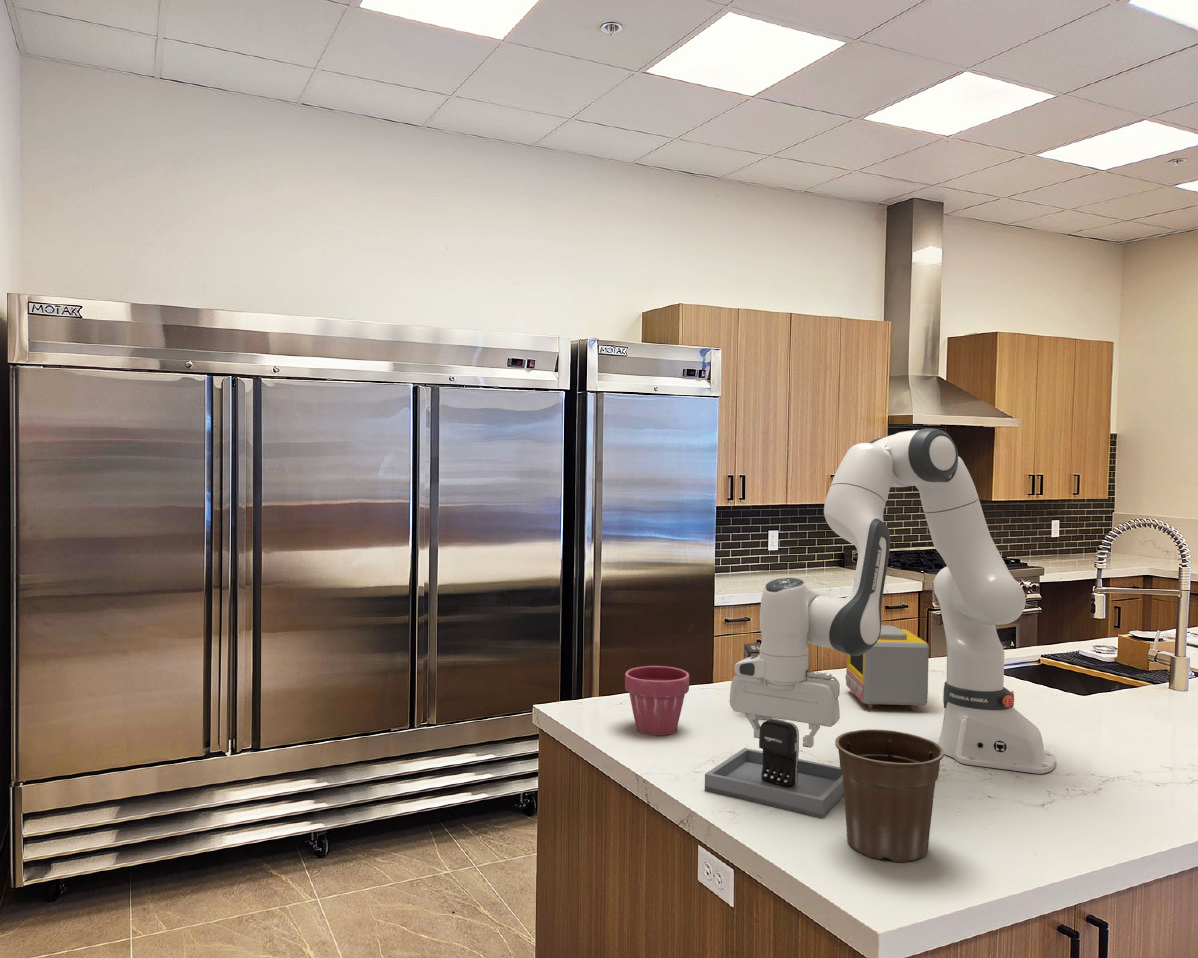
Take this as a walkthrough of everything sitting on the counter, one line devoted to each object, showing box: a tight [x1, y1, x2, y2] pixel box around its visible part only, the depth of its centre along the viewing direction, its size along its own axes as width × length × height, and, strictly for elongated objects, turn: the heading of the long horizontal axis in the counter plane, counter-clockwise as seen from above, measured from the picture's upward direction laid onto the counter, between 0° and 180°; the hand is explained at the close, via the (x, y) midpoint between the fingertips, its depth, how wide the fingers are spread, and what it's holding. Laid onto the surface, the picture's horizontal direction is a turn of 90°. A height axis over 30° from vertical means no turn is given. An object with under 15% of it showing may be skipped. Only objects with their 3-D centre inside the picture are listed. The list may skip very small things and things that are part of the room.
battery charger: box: [758, 718, 800, 787], centre depth 164 cm, size 7×4×11 cm, turn 48°
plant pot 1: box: [624, 665, 690, 736], centre depth 199 cm, size 14×14×13 cm
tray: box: [704, 747, 844, 819], centre depth 164 cm, size 22×18×3 cm
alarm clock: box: [845, 624, 930, 711], centre depth 225 cm, size 20×16×18 cm
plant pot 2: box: [834, 728, 945, 863], centre depth 140 cm, size 16×16×16 cm
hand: (783, 741), depth 164 cm, fingers open, 8 cm apart
